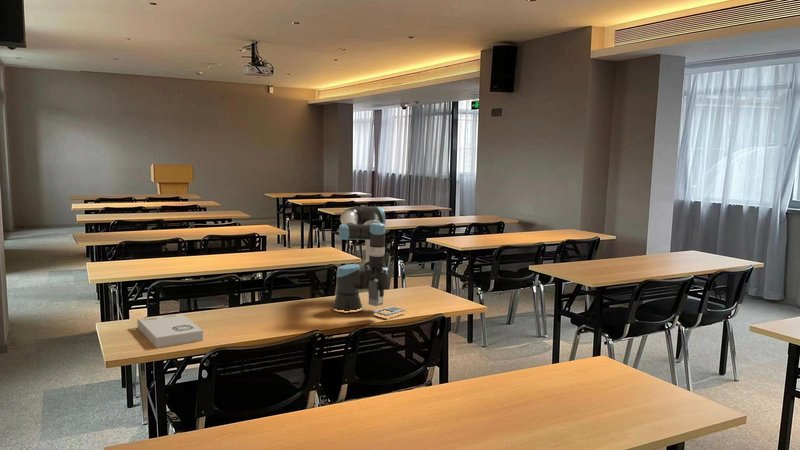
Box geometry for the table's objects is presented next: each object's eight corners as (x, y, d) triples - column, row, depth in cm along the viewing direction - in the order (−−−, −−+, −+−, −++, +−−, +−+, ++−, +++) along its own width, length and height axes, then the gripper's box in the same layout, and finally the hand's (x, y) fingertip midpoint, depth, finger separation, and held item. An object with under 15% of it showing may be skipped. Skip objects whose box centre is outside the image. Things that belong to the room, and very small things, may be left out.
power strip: (373, 315, 291) (373, 310, 290) (391, 310, 301) (392, 305, 301) (386, 319, 285) (387, 314, 284) (405, 314, 295) (405, 308, 295)
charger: (368, 304, 284) (369, 280, 283) (375, 302, 288) (375, 278, 286) (376, 306, 281) (376, 281, 279) (382, 304, 285) (383, 280, 283)
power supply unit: (180, 322, 272) (180, 312, 272) (203, 342, 246) (203, 330, 245) (137, 329, 261) (137, 318, 260) (156, 349, 235) (156, 337, 234)
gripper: (358, 253, 284) (357, 299, 287) (385, 258, 273) (384, 306, 276) (368, 251, 290) (367, 297, 293) (396, 256, 278) (394, 304, 281)
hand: (375, 301), depth 284 cm, fingers closed on charger, 5 cm apart
